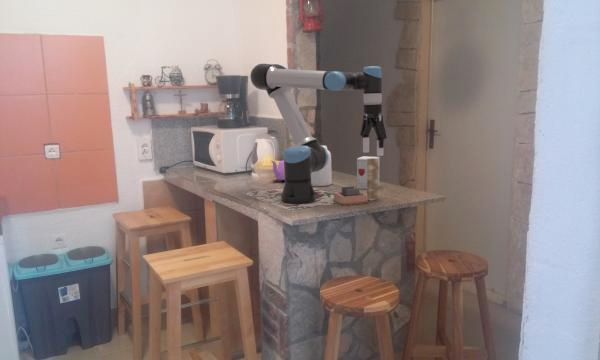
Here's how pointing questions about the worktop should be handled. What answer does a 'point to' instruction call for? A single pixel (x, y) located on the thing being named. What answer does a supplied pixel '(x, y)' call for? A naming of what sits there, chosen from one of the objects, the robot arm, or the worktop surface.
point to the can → (323, 173)
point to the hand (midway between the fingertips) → (372, 154)
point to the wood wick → (372, 179)
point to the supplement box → (364, 171)
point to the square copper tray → (350, 196)
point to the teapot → (279, 170)
